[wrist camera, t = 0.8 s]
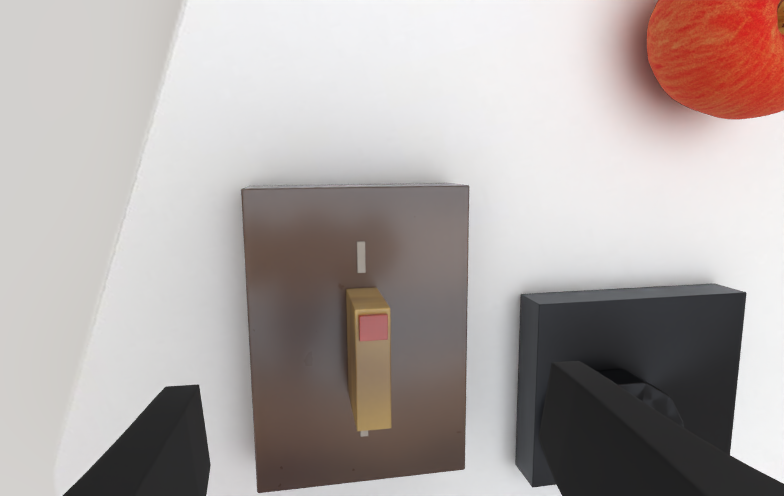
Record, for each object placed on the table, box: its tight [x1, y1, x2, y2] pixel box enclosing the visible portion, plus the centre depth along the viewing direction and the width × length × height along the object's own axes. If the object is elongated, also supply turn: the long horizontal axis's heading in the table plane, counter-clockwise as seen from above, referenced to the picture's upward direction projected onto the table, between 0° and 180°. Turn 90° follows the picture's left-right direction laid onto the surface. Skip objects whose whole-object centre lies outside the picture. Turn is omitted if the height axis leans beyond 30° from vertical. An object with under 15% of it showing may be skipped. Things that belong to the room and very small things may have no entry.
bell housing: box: [516, 284, 746, 487], centre depth 28 cm, size 10×12×4 cm
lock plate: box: [241, 183, 469, 493], centre depth 25 cm, size 14×10×3 cm
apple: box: [647, 0, 784, 119], centre depth 24 cm, size 8×8×8 cm
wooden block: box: [346, 288, 391, 431], centre depth 22 cm, size 5×1×4 cm, turn 0°
